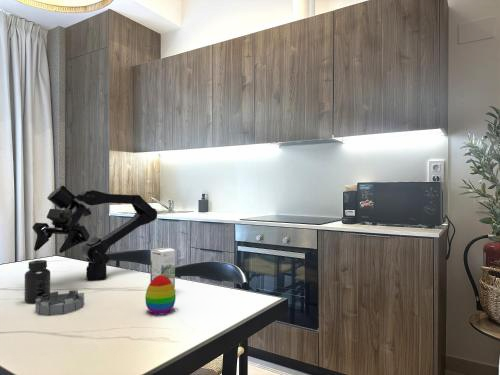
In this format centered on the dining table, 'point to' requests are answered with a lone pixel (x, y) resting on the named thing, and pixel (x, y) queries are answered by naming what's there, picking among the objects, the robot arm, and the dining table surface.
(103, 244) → the robot arm
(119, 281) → the dining table surface
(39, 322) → the dining table surface
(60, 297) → the grey segmented ring
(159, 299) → the decorative egg
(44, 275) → the supplement bottle
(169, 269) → the syrup box
